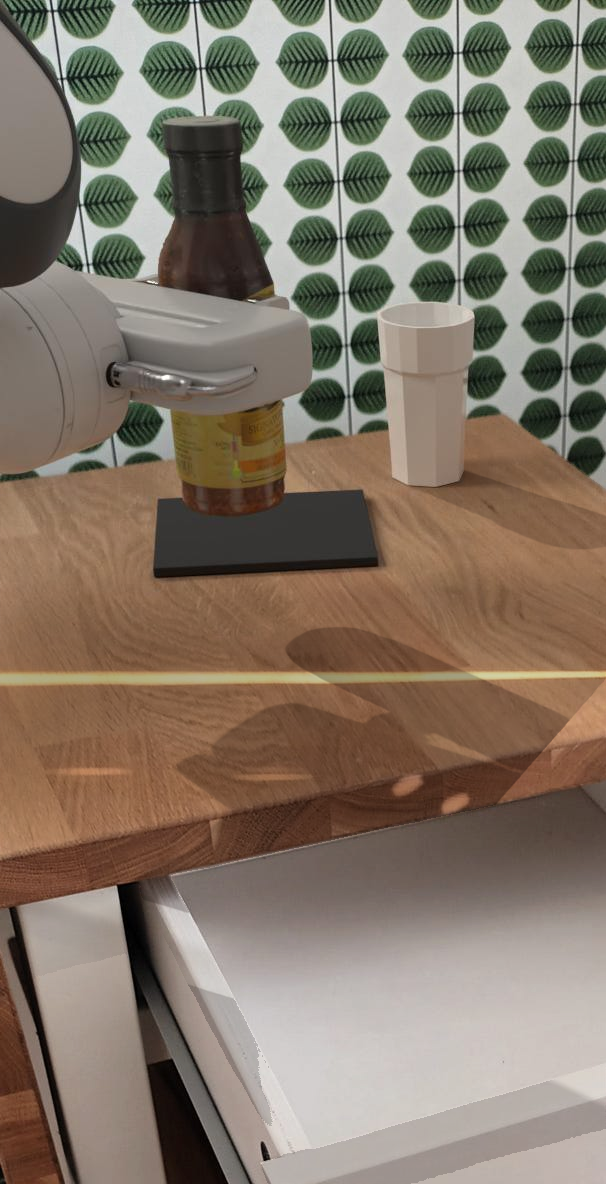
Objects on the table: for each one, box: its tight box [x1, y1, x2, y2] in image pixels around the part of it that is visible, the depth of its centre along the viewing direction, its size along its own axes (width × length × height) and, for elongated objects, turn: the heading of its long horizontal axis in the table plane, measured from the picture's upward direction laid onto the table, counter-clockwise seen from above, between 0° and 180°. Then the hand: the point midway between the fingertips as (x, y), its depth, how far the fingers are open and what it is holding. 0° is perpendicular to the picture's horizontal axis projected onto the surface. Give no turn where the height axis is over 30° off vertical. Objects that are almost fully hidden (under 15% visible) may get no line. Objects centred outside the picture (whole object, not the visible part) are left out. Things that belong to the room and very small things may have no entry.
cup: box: [376, 301, 476, 488], centre depth 109 cm, size 7×7×11 cm
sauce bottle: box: [157, 115, 288, 517], centre depth 85 cm, size 6×6×20 cm
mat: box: [152, 489, 379, 578], centre depth 102 cm, size 14×12×1 cm
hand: (224, 300), depth 85 cm, fingers closed on sauce bottle, 6 cm apart
